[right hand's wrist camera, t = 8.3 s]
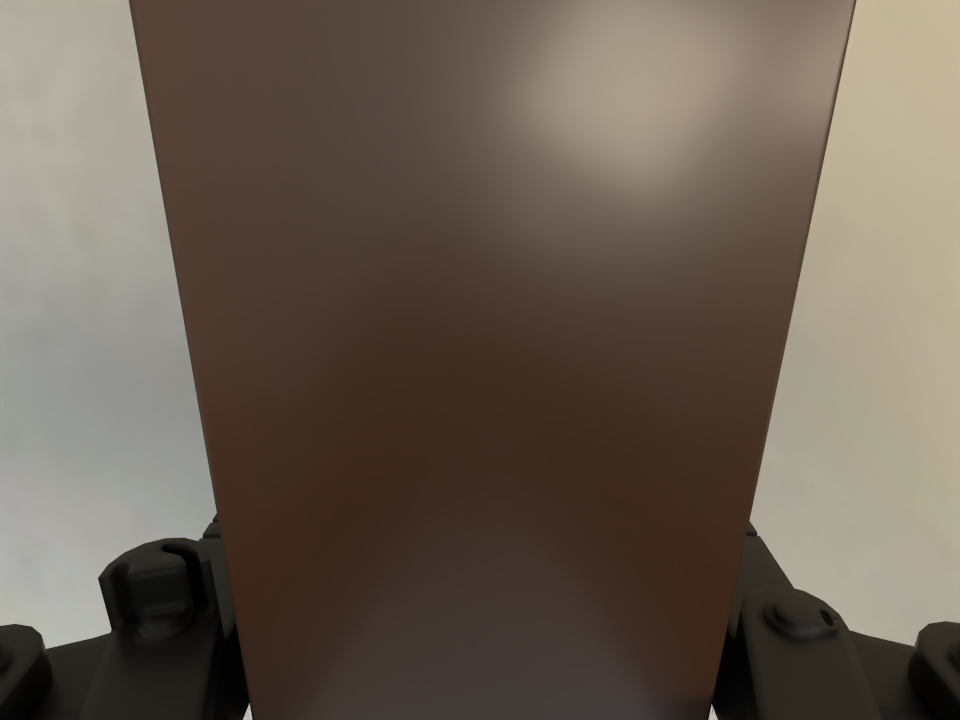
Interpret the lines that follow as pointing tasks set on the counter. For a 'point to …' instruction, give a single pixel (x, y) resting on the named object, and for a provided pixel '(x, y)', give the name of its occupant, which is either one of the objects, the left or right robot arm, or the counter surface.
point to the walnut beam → (487, 332)
